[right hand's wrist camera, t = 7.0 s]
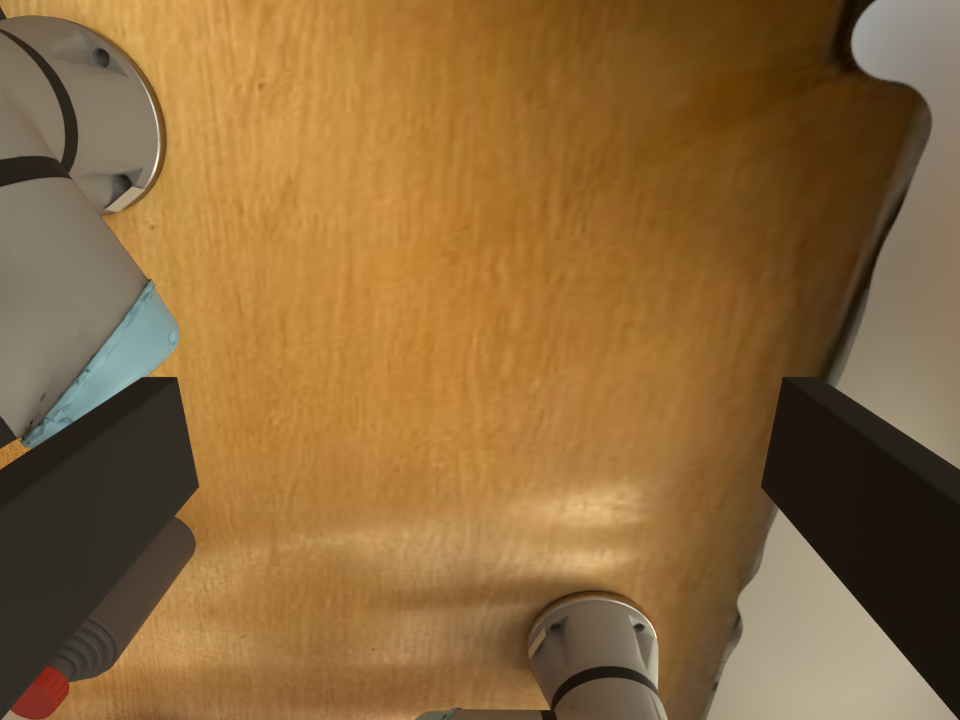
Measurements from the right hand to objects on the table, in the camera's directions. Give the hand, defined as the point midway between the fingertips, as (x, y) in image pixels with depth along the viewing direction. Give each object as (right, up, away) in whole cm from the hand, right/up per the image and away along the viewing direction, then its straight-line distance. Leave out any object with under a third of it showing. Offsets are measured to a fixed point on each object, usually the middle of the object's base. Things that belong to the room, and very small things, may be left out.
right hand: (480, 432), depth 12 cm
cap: (-36, -25, +32) cm, 54 cm away
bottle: (-36, -19, +50) cm, 64 cm away
